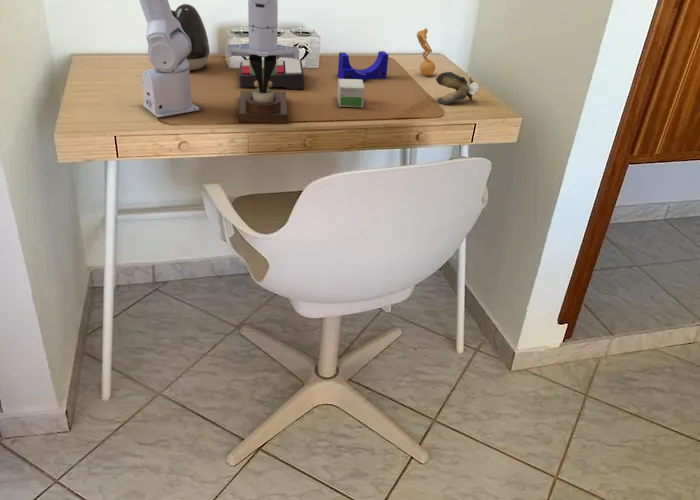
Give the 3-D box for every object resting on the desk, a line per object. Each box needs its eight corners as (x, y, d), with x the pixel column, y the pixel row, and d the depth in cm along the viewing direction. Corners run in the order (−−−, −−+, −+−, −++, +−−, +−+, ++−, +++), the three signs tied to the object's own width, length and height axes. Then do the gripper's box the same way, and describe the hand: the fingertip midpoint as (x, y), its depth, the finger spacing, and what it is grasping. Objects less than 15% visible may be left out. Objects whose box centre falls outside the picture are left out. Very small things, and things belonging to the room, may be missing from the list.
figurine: (439, 80, 173) (446, 32, 166) (417, 80, 171) (423, 32, 165) (427, 70, 179) (433, 24, 173) (406, 70, 178) (411, 24, 171)
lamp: (277, 90, 146) (277, 68, 144) (249, 89, 146) (248, 67, 143) (276, 81, 151) (276, 60, 149) (249, 80, 151) (249, 59, 148)
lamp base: (287, 123, 141) (287, 105, 139) (238, 122, 140) (238, 104, 138) (285, 100, 153) (285, 83, 151) (240, 99, 152) (240, 81, 149)
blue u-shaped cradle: (343, 82, 166) (344, 57, 163) (337, 76, 170) (339, 52, 167) (388, 80, 170) (390, 56, 167) (382, 74, 174) (384, 51, 170)
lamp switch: (273, 104, 140) (273, 95, 139) (252, 104, 139) (252, 94, 138) (273, 97, 144) (273, 88, 143) (252, 96, 143) (252, 87, 142)
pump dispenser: (163, 62, 170) (158, 0, 162) (204, 60, 174) (201, -2, 166) (172, 75, 162) (167, 10, 154) (215, 72, 166) (212, 8, 158)
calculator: (240, 58, 165) (301, 57, 166) (241, 75, 167) (301, 74, 169) (238, 72, 156) (303, 71, 157) (240, 90, 158) (304, 89, 160)
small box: (338, 107, 151) (339, 86, 149) (336, 98, 156) (337, 77, 153) (363, 108, 152) (365, 87, 149) (361, 99, 157) (362, 78, 154)
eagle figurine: (462, 88, 165) (430, 83, 161) (477, 69, 159) (445, 63, 155) (469, 113, 162) (436, 109, 158) (485, 95, 156) (452, 90, 152)
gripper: (224, 28, 129) (226, 97, 136) (300, 31, 131) (298, 99, 138) (226, 19, 135) (228, 85, 142) (298, 22, 137) (297, 87, 144)
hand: (263, 91), depth 140 cm, fingers closed, pressing on lamp switch
